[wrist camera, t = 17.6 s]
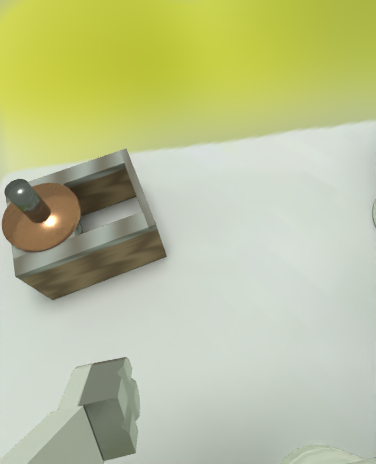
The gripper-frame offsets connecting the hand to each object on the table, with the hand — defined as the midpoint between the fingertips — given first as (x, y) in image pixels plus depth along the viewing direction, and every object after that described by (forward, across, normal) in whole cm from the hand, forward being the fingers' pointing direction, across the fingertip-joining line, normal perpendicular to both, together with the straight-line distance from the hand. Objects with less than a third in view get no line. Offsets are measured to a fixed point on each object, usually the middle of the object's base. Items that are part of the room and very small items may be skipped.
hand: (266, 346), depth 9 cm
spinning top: (+38, +20, +4) cm, 43 cm away
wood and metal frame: (+42, +15, +7) cm, 45 cm away
